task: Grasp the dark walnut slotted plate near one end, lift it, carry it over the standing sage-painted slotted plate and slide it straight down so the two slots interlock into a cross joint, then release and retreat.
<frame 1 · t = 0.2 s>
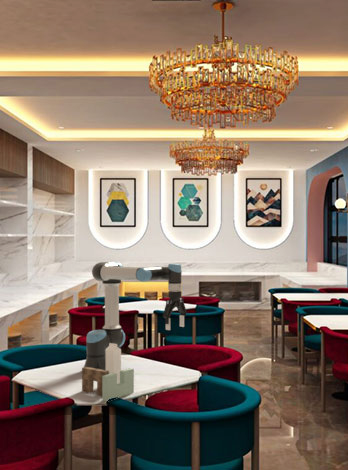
hand: (175, 328, 309), 28 cm above the table, fingers open, 13 cm apart
slot stand: (118, 396, 271), on the table
milk: (113, 384, 294), on the table
cross plate: (95, 392, 277), on the table
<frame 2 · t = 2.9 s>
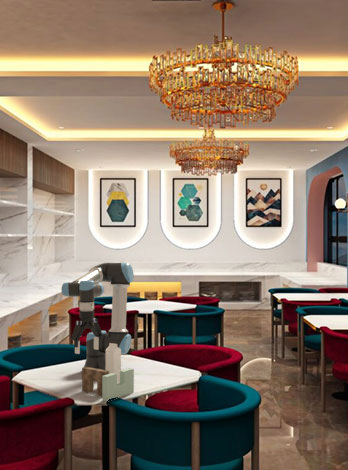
hand: (86, 351, 281), 20 cm above the table, fingers open, 13 cm apart
nothing on the table moved.
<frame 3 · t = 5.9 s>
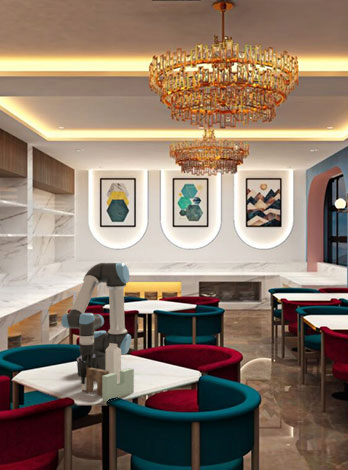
hand: (86, 388, 281), 1 cm above the table, fingers closed on cross plate, 3 cm apart
cross plate: (95, 392, 277), on the table, touching gripper
everything else where it was.
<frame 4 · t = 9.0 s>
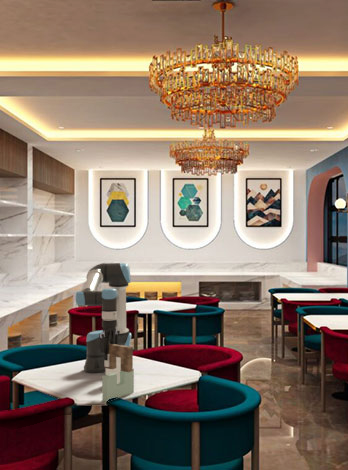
hand: (109, 365, 274), 14 cm above the table, fingers closed on cross plate, 3 cm apart
cross plate: (118, 369, 271), point 13 cm above the table, touching gripper
everything else where it was.
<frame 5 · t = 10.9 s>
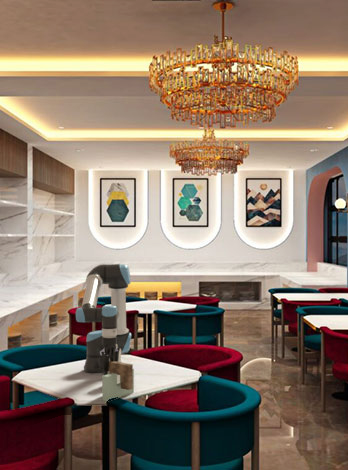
hand: (109, 383, 274), 6 cm above the table, fingers closed on cross plate, 3 cm apart
cross plate: (118, 386, 271), point 5 cm above the table, touching gripper
everything else where it was.
when the fingers open (2 cm above the table, at t = 12.6 s): cross plate drops 1 cm, on the table.
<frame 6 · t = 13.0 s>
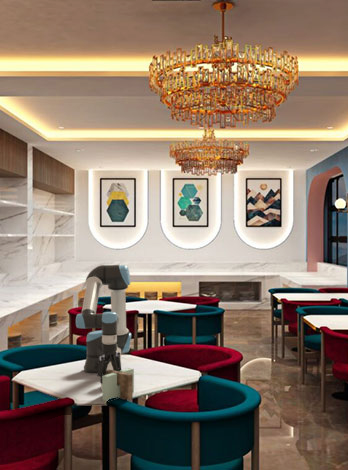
hand: (109, 388, 274), 3 cm above the table, fingers open, 8 cm apart
cross plate: (118, 396, 271), on the table
everything else where it was.
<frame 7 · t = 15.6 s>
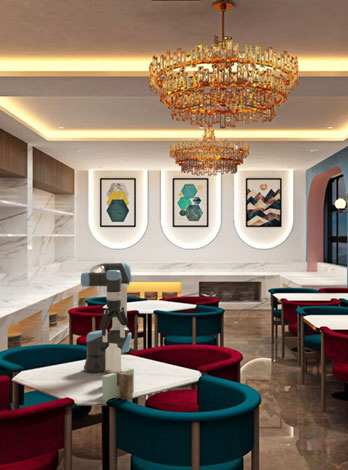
hand: (113, 339, 287), 25 cm above the table, fingers open, 13 cm apart
nothing on the table moved.
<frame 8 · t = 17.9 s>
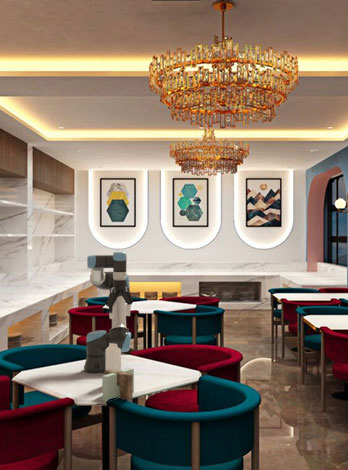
hand: (119, 317, 305), 35 cm above the table, fingers open, 13 cm apart
nothing on the table moved.
at the end: cross plate 0.2 cm off-centre on the slot stand, point 0.0 cm above the slot stand's base; cross plate tilted 0°; the gripper is holding nothing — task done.
